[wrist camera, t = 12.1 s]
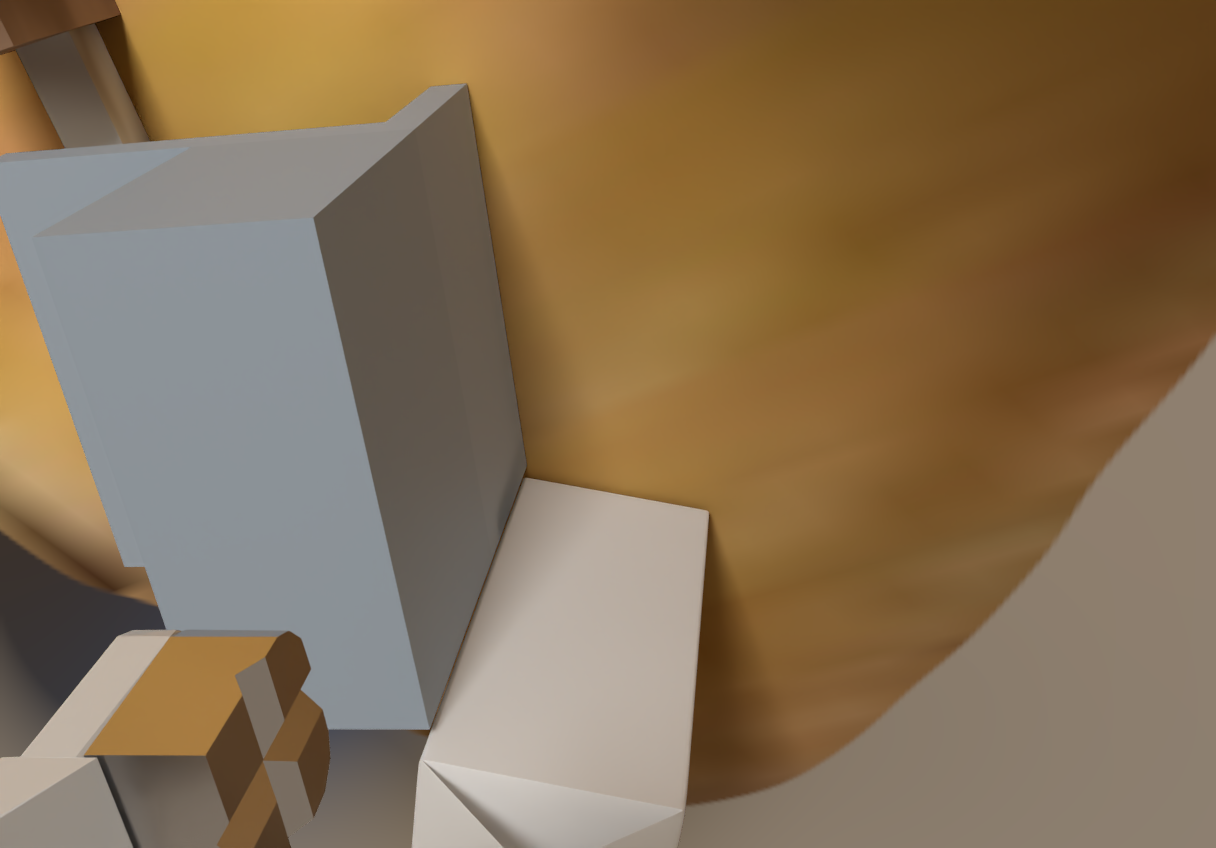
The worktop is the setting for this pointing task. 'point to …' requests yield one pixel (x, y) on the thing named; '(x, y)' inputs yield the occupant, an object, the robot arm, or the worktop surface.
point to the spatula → (72, 69)
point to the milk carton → (572, 681)
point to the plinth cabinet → (289, 382)
